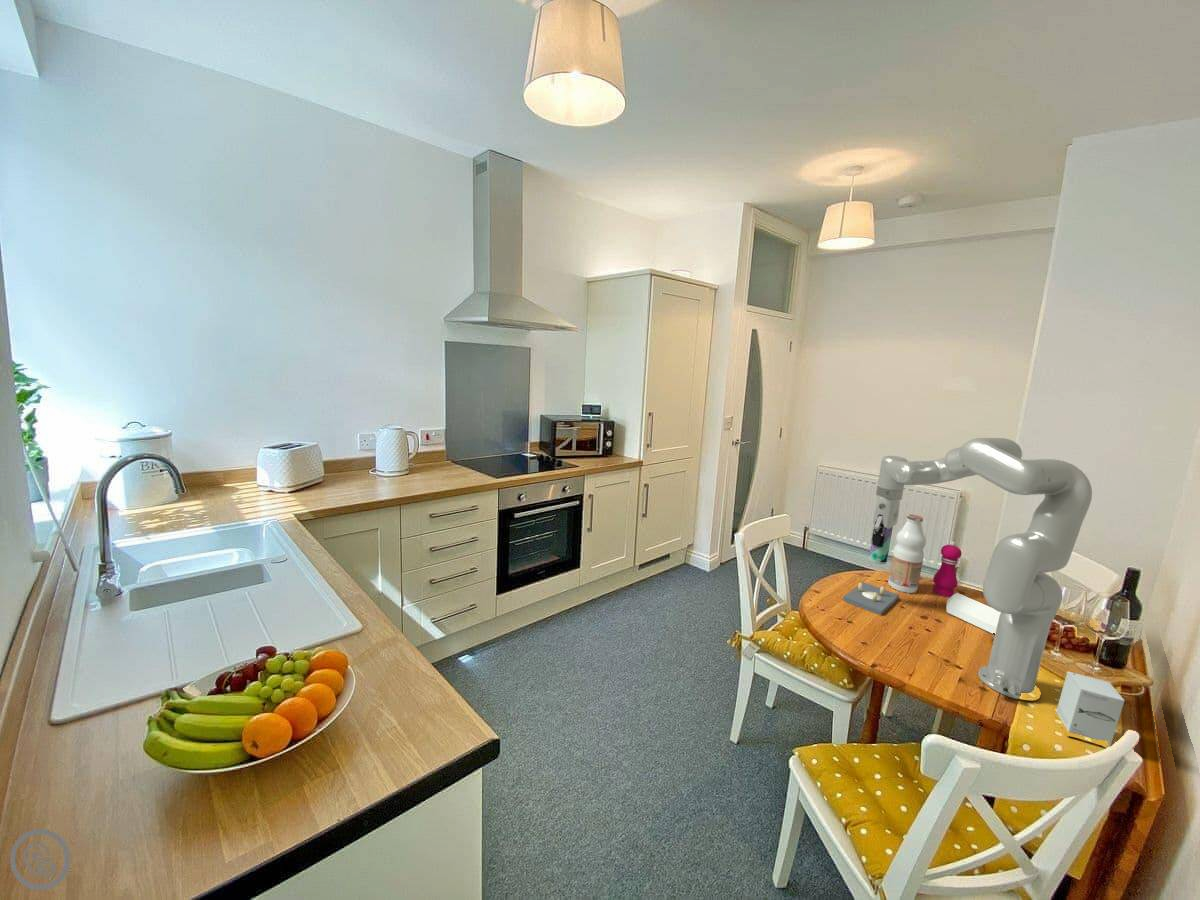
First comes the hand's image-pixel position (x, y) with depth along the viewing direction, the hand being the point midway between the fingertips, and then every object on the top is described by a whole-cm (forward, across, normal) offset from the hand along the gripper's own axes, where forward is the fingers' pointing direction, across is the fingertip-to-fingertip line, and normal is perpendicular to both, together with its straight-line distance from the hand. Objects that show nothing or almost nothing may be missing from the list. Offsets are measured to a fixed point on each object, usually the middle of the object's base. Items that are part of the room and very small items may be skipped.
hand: (880, 543), depth 162 cm
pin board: (+21, 0, 0) cm, 21 cm away
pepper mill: (+21, +28, -15) cm, 38 cm away
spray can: (+7, 0, 0) cm, 7 cm away
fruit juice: (+21, +20, -4) cm, 29 cm away
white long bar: (+22, +12, -30) cm, 39 cm away
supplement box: (+21, -28, -54) cm, 64 cm away
